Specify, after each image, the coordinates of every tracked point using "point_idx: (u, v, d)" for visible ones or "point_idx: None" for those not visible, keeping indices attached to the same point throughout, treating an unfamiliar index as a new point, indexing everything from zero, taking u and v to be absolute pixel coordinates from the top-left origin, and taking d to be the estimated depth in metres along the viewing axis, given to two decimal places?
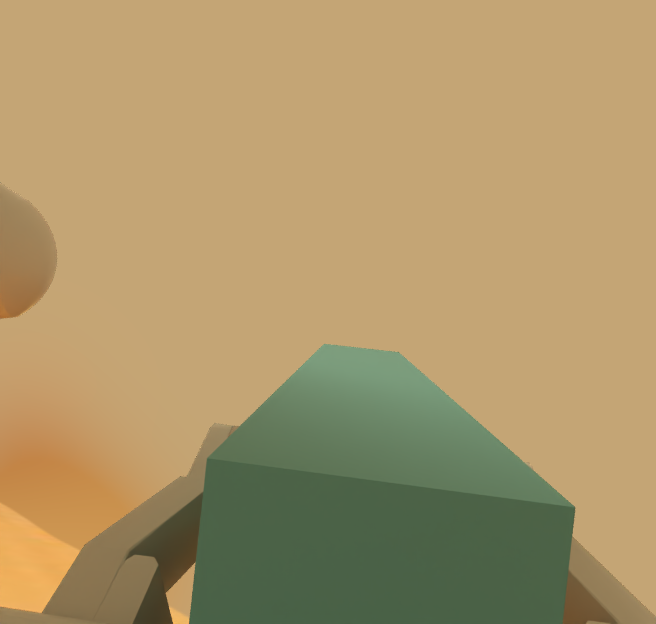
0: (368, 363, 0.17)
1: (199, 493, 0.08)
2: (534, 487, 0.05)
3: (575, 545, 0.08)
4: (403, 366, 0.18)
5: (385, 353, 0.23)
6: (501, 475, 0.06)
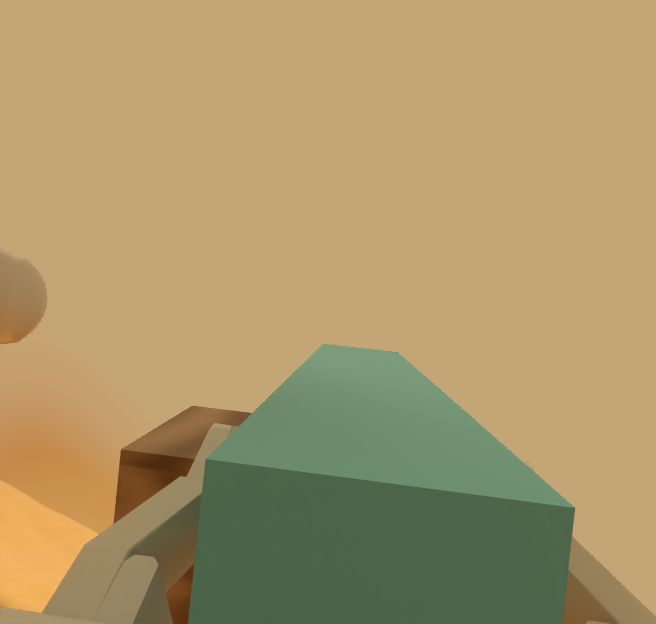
0: (367, 363, 0.17)
1: (199, 493, 0.08)
2: (534, 487, 0.05)
3: (575, 545, 0.08)
4: (402, 366, 0.18)
5: (384, 353, 0.23)
6: (500, 475, 0.06)
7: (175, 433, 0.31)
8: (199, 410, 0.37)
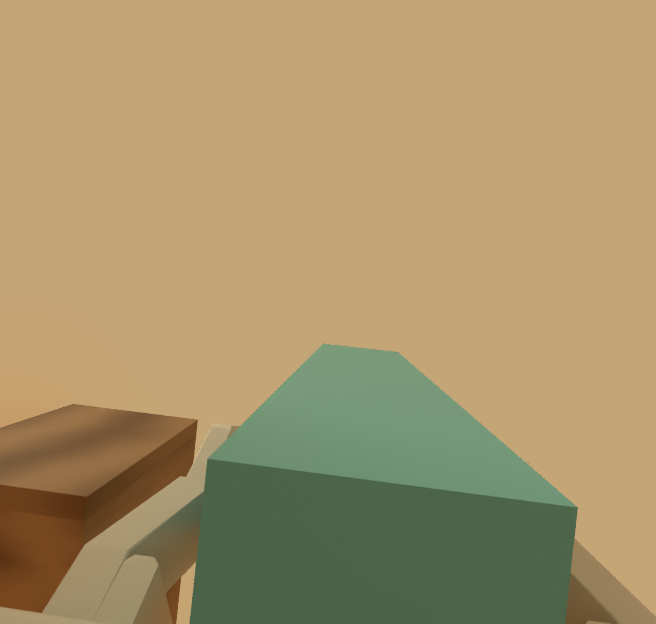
0: (367, 363, 0.17)
1: (199, 493, 0.08)
2: (536, 487, 0.05)
3: (575, 545, 0.08)
4: (402, 366, 0.18)
5: (384, 353, 0.23)
6: (503, 475, 0.06)
7: (4, 441, 0.21)
8: (76, 410, 0.28)
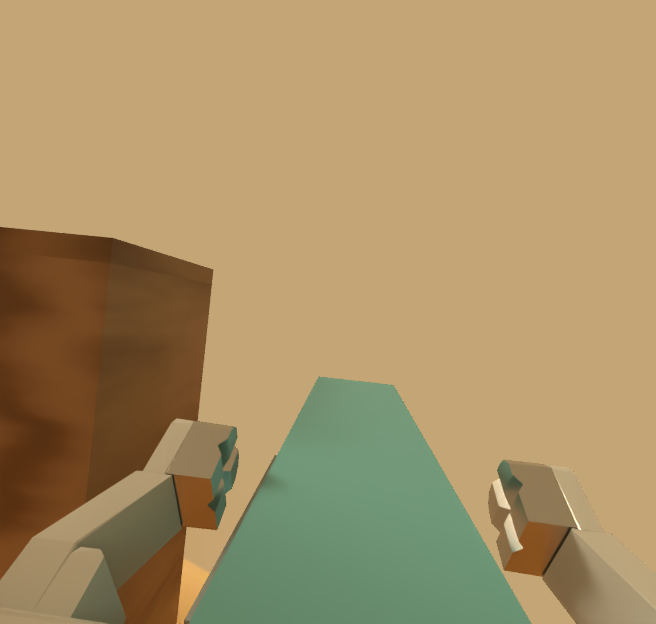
0: (362, 411, 0.17)
1: (153, 487, 0.08)
2: None
3: (626, 552, 0.08)
4: (397, 413, 0.18)
5: (380, 389, 0.23)
6: (490, 623, 0.06)
7: None
8: None
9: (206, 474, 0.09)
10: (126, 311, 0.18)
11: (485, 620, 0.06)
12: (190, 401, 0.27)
